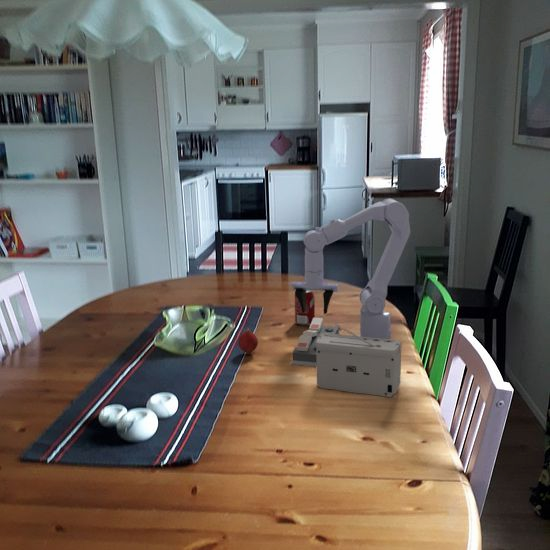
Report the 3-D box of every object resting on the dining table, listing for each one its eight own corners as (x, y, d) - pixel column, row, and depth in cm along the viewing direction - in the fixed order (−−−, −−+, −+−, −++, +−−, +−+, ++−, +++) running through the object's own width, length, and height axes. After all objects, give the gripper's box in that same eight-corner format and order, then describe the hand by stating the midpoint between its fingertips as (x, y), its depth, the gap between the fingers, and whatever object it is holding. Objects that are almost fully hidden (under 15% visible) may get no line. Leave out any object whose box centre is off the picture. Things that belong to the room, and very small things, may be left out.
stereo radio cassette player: (400, 386, 144) (402, 312, 139) (396, 400, 136) (398, 323, 131) (322, 376, 151) (321, 306, 146) (313, 390, 143) (312, 316, 138)
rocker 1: (311, 339, 165) (311, 335, 164) (307, 351, 160) (306, 347, 159) (301, 338, 165) (301, 334, 165) (296, 350, 161) (296, 346, 160)
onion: (235, 355, 166) (234, 330, 164) (245, 349, 171) (244, 324, 169) (252, 359, 164) (251, 333, 162) (261, 352, 169) (260, 327, 166)
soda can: (307, 328, 188) (307, 293, 185) (291, 324, 192) (290, 290, 189) (318, 322, 193) (318, 289, 190) (302, 318, 197) (301, 286, 194)
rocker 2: (323, 321, 179) (323, 318, 179) (319, 332, 174) (319, 328, 174) (313, 320, 180) (313, 317, 180) (309, 331, 175) (309, 327, 175)
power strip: (339, 333, 181) (339, 322, 181) (322, 367, 156) (321, 355, 155) (312, 331, 184) (312, 321, 183) (291, 364, 159) (290, 352, 158)
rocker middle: (317, 334, 172) (317, 330, 172) (313, 336, 166) (313, 332, 166) (307, 334, 173) (307, 329, 173) (302, 335, 167) (303, 331, 167)
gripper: (340, 267, 172) (340, 309, 176) (294, 266, 176) (295, 306, 180) (335, 273, 166) (335, 316, 169) (288, 271, 170) (289, 313, 173)
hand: (314, 312), depth 174 cm, fingers open, 6 cm apart
